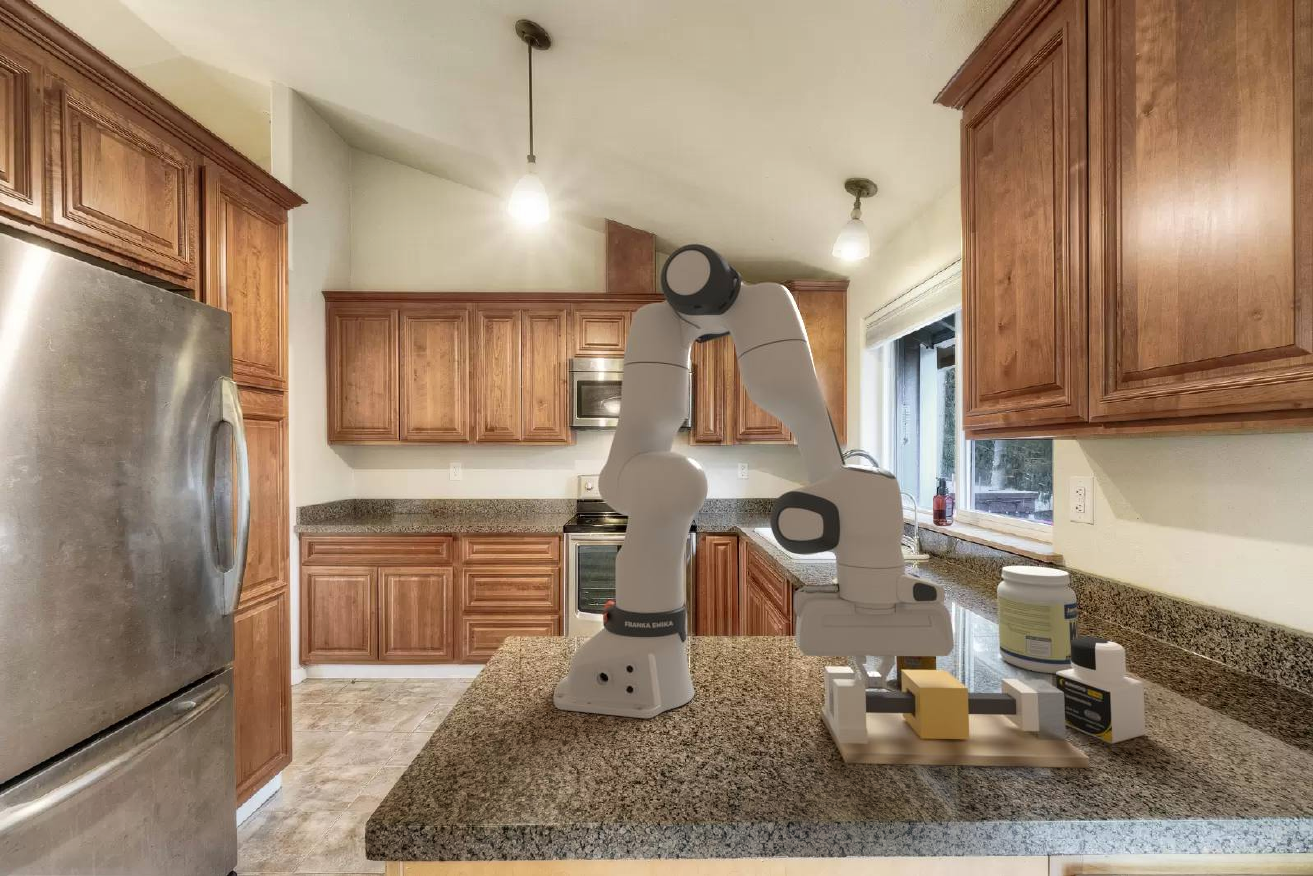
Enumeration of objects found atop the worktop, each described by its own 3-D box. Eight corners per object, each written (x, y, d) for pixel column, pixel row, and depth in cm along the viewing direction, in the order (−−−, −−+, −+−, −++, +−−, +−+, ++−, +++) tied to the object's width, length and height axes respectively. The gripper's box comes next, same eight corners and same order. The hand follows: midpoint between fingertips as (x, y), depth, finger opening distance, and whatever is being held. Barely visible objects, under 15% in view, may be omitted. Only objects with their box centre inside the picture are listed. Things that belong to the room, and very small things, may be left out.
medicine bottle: (1056, 722, 81) (1053, 636, 82) (1090, 714, 84) (1086, 630, 84) (1112, 745, 74) (1107, 651, 75) (1146, 735, 77) (1142, 645, 77)
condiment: (948, 689, 93) (946, 614, 94) (918, 701, 89) (916, 623, 89) (907, 675, 99) (905, 605, 100) (877, 686, 95) (875, 613, 95)
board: (845, 763, 71) (845, 753, 71) (821, 716, 84) (820, 708, 84) (1089, 767, 69) (1089, 757, 69) (1026, 719, 82) (1026, 711, 82)
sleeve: (921, 738, 73) (919, 687, 74) (902, 716, 80) (901, 669, 80) (969, 739, 73) (967, 688, 73) (946, 717, 79) (945, 670, 80)
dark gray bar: (837, 712, 76) (836, 697, 76) (833, 706, 78) (833, 691, 78) (1039, 715, 75) (1038, 699, 75) (1030, 708, 77) (1029, 693, 77)
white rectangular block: (1023, 730, 73) (1021, 692, 74) (1002, 714, 78) (1001, 678, 78) (1039, 731, 73) (1037, 692, 74) (1017, 714, 78) (1016, 678, 78)
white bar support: (839, 743, 73) (838, 687, 73) (824, 715, 81) (823, 665, 81) (867, 743, 73) (866, 687, 73) (850, 716, 81) (848, 665, 81)
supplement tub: (1085, 680, 96) (1080, 579, 97) (1000, 668, 102) (997, 573, 103) (1074, 658, 107) (1070, 567, 108) (998, 649, 113) (995, 562, 114)
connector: (1038, 740, 73) (1036, 692, 74) (1018, 724, 78) (1017, 679, 78) (1066, 740, 73) (1064, 692, 74) (1044, 724, 78) (1042, 679, 78)
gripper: (797, 589, 75) (800, 696, 75) (957, 589, 74) (961, 697, 74) (789, 579, 81) (791, 678, 81) (936, 578, 80) (939, 678, 80)
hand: (873, 687), depth 77 cm, fingers closed
